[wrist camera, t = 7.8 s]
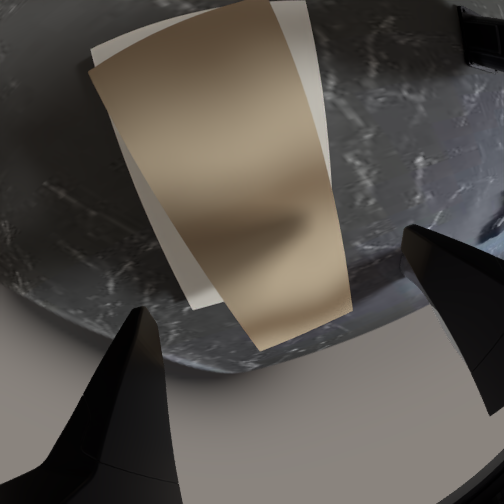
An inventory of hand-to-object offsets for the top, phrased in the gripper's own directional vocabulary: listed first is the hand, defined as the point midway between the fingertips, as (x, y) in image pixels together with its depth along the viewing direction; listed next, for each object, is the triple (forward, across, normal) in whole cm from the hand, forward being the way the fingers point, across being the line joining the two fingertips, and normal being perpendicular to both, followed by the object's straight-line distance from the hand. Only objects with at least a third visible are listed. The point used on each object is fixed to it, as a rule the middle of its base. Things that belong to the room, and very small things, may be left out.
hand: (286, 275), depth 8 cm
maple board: (+5, 0, 0) cm, 5 cm away
